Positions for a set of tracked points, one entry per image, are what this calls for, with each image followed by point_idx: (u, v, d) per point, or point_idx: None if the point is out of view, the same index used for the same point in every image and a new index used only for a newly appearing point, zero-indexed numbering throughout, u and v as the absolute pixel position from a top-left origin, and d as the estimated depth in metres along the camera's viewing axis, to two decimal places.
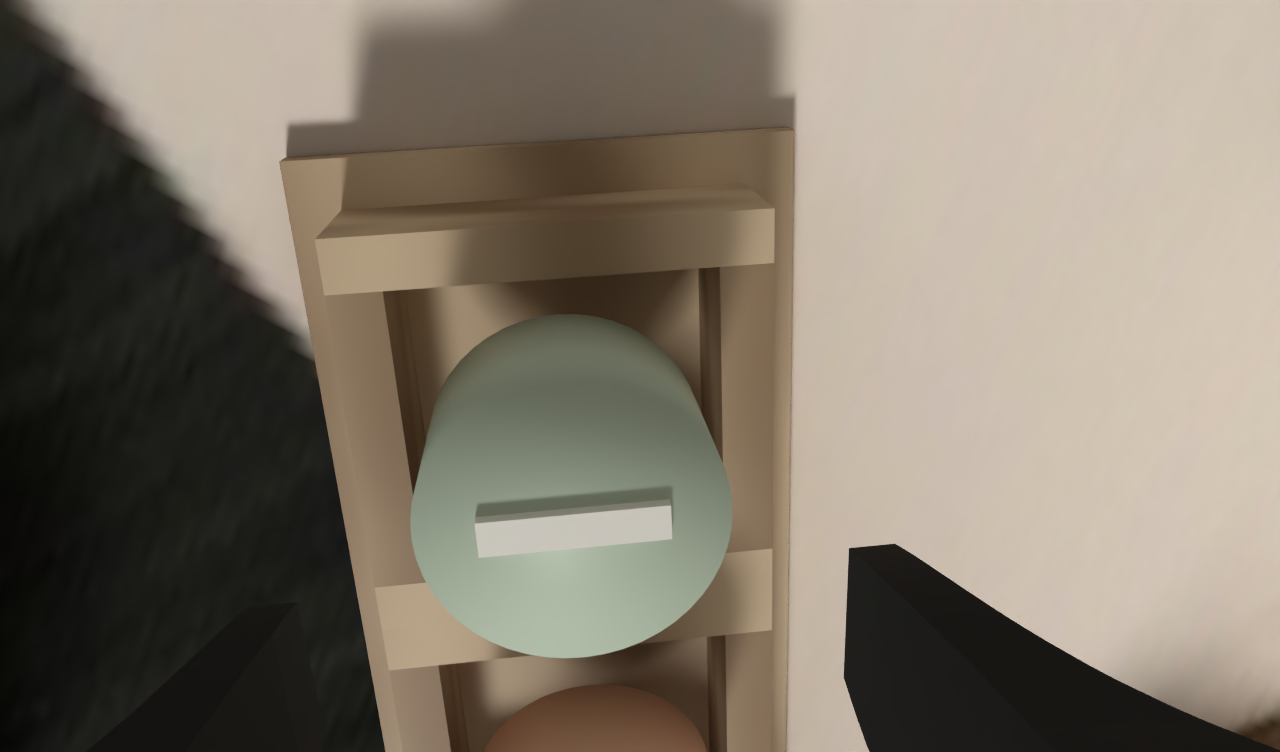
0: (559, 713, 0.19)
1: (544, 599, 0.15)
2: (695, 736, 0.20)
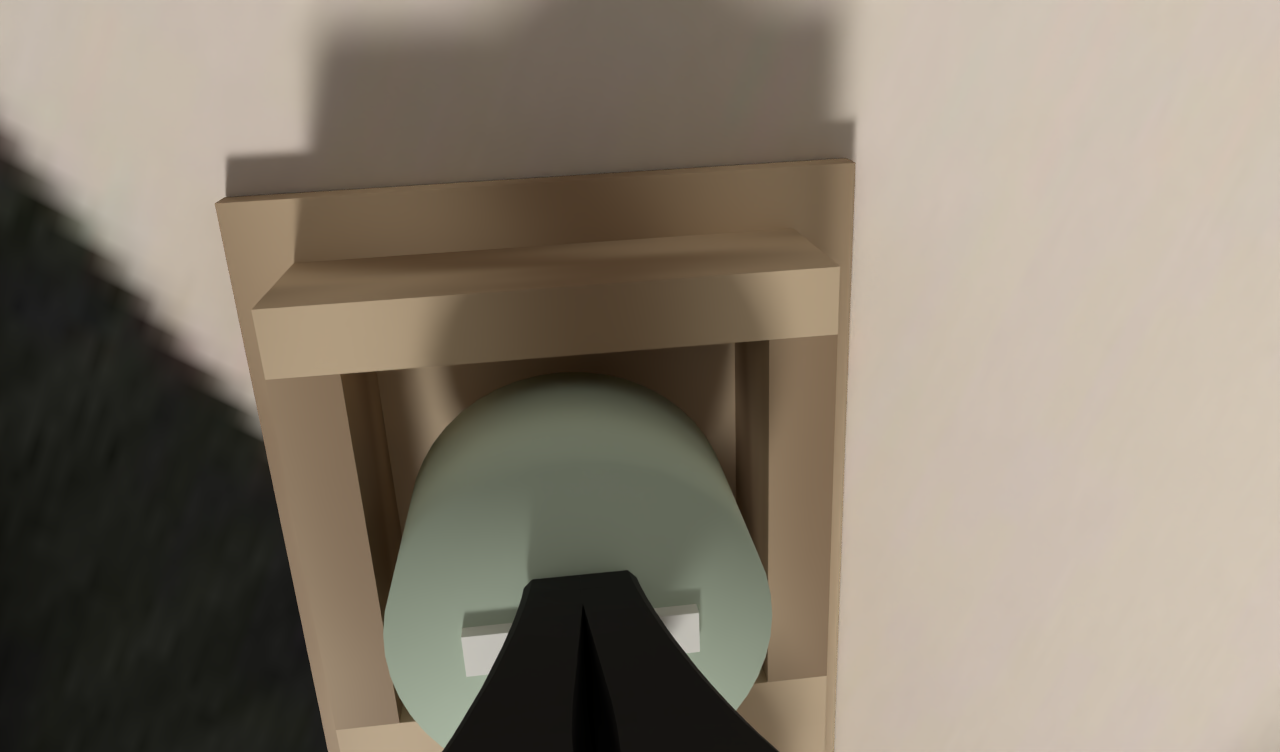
0: None
1: None
2: None
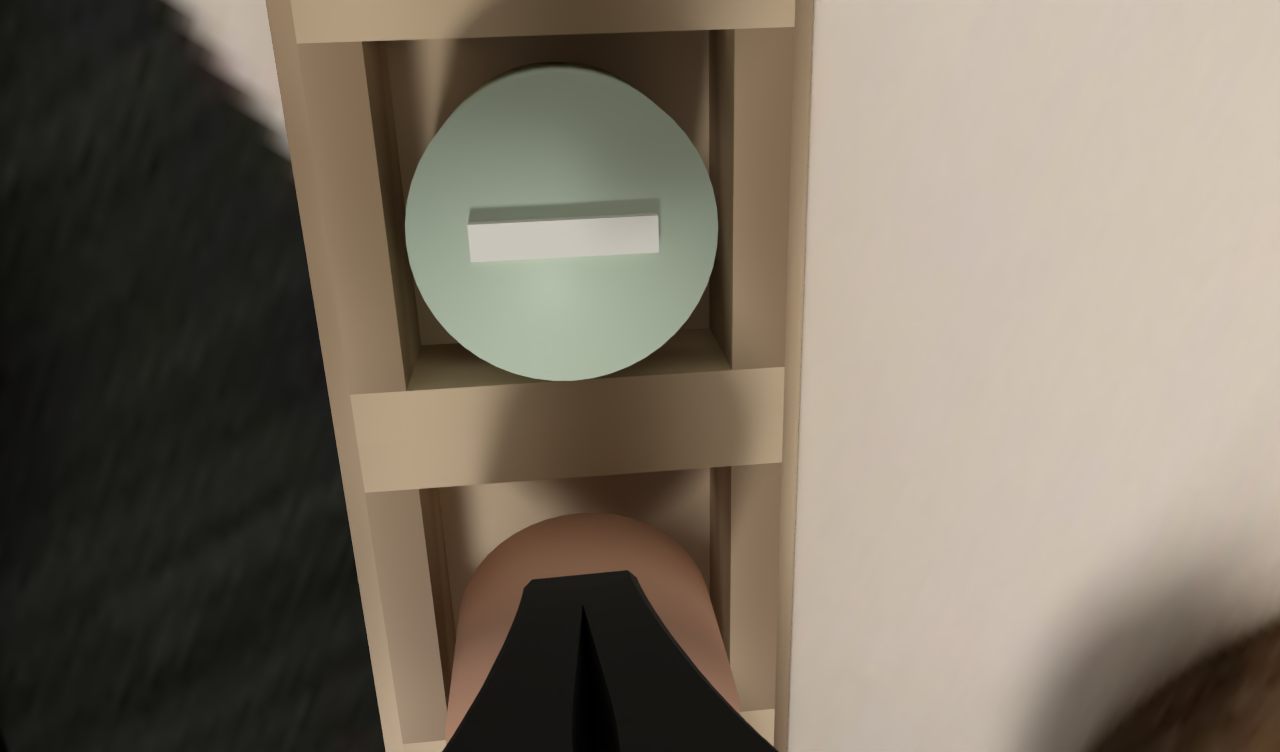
0: (549, 537, 0.17)
1: (534, 315, 0.16)
2: (697, 573, 0.18)
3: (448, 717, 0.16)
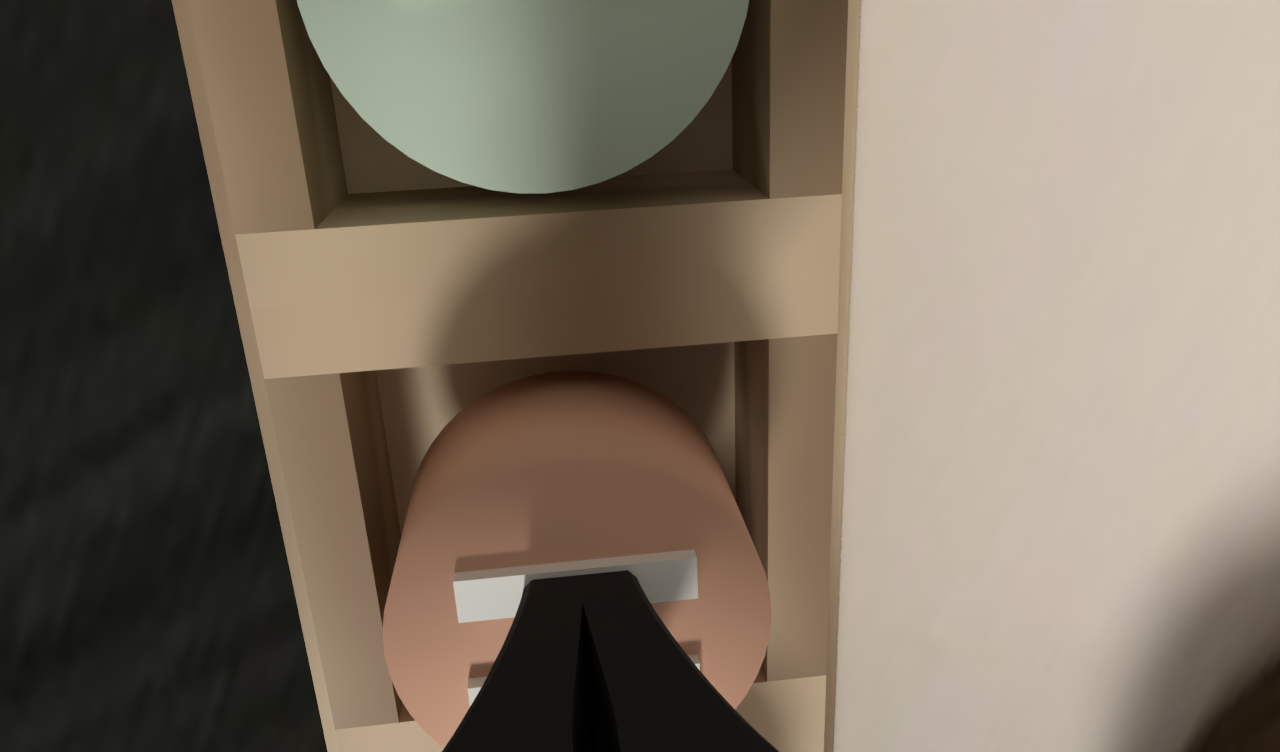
0: (520, 396, 0.14)
1: (486, 90, 0.11)
2: (709, 447, 0.14)
3: (385, 617, 0.12)
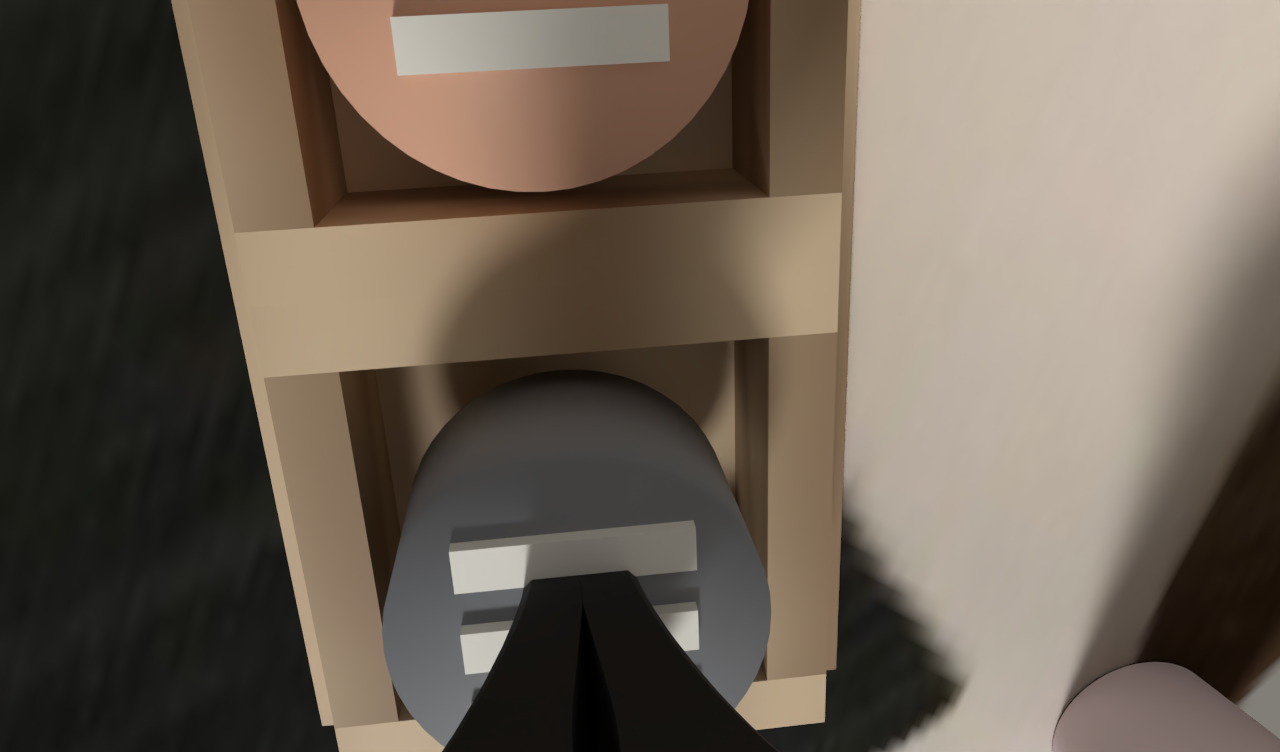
0: None
1: None
2: None
3: None
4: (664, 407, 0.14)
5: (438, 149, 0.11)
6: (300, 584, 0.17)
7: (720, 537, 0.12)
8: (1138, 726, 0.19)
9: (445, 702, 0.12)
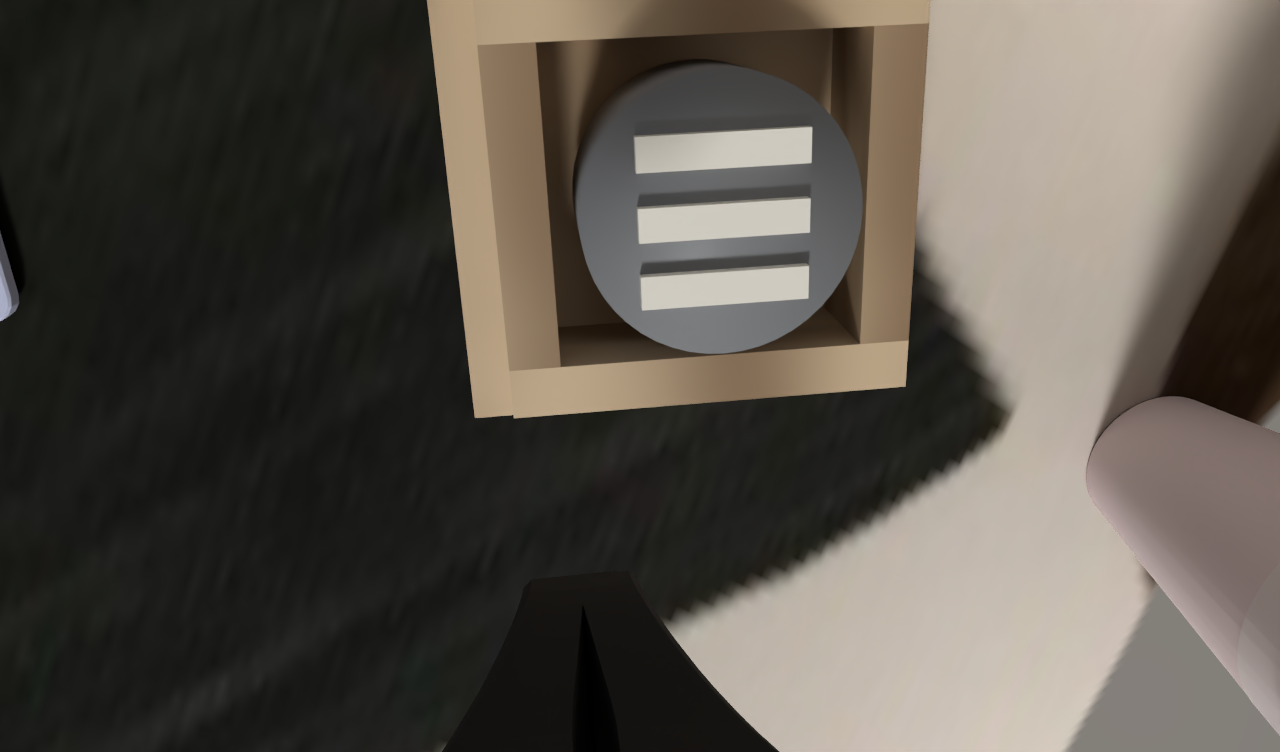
0: None
1: None
2: None
3: None
4: None
5: None
6: (465, 282, 0.20)
7: (828, 141, 0.16)
8: (1162, 432, 0.22)
9: (620, 274, 0.17)
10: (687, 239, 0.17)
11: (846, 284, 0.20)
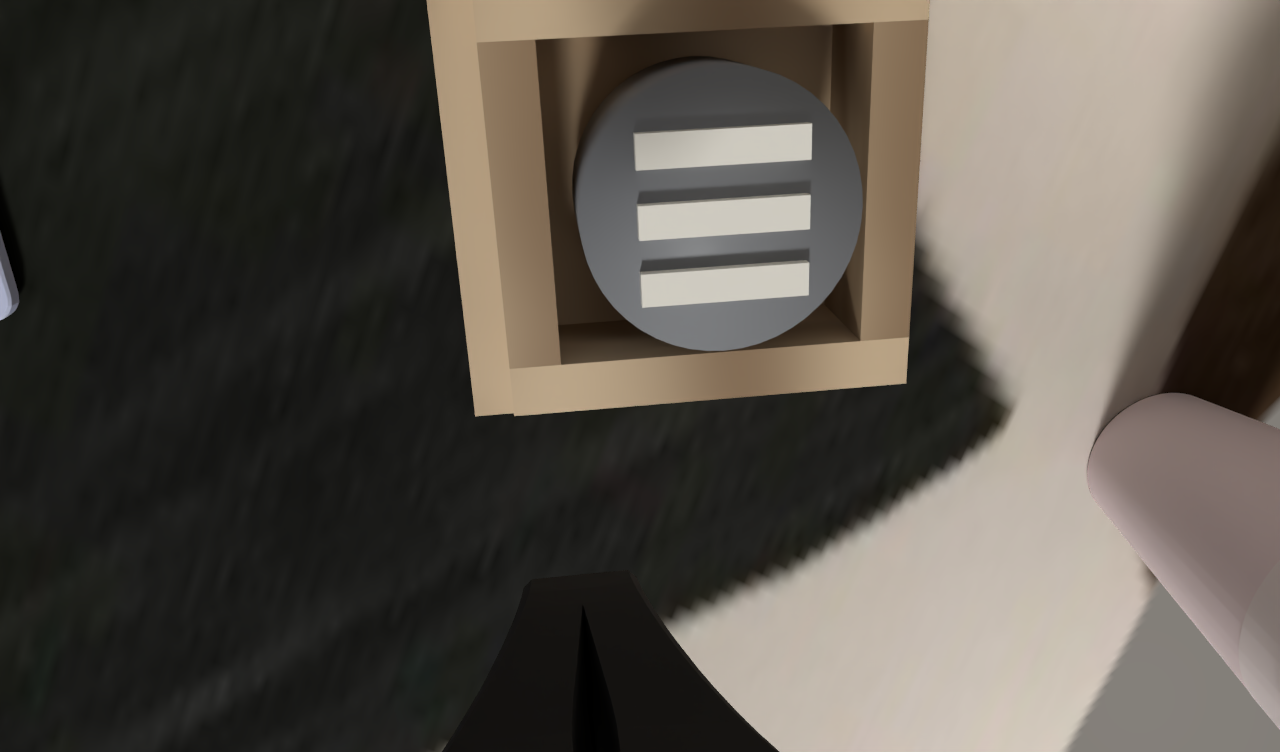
0: None
1: None
2: None
3: None
4: None
5: None
6: (466, 280, 0.20)
7: (827, 138, 0.16)
8: (1162, 429, 0.22)
9: (620, 271, 0.17)
10: (687, 236, 0.17)
11: (846, 281, 0.20)
